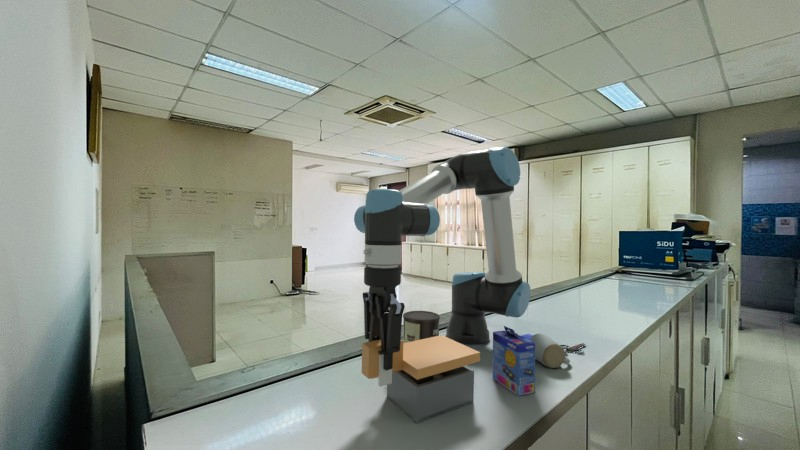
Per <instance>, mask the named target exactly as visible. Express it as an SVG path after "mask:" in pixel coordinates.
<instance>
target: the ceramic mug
mask: <svg viewBox="0 0 800 450" xmlns="http://www.w3.org/2000/svg"><path fill="white" fill-rule="evenodd" d="M532 335H533V336H532V337H531V338H530V340H532V341H534V342H535V361H537V362H539V363H540V364H542V365H543V366H545V367H547V368H549V369H556V368H559V367H561V366H562V365H563V364H564V365H567V366H569V365H570V362H571V360H570V358H568V357H567V356H565V354H566V353H565V352H564V351H565V350H564V349H563V348H564V347H563V346H560V345H561V344H559V342H556V341H555V340H554V339H552V338H550V337H549V336H548V335H547V334H545V333H536V334H532ZM562 347H563V348H562Z"/></svg>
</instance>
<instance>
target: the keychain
mask: <svg viewBox="0 0 800 450" xmlns="http://www.w3.org/2000/svg"><path fill="white" fill-rule="evenodd" d="M559 345H560V346H561V347H562V348H563V349H566V350H564V352H565V357H567V356H568V352H567V351H570V352H569V353H574V352H575V353H574V354H576V353H578V354H577V355H584V354H585V351H584V350H583V349H581V348H580V347H582V346H584V345H585V343H584V342H582V343H579V344H575V345H573V346H569V345H567V344H559ZM564 346H566V347H564ZM585 346H586V345H585ZM568 347H569V348H568ZM578 348H580V349H578ZM573 350H580V351H583V352H580V351H573ZM571 351H573V352H571ZM583 353H584V354H583Z"/></svg>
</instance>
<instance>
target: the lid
mask: <svg viewBox="0 0 800 450" xmlns="http://www.w3.org/2000/svg"><path fill="white" fill-rule="evenodd" d="M378 351H381V340H376V341H371V342H368V341H366V342H362V343H361V374H362V375H363V376H364V377H366V378H367V379H371V378H374V377H377V376H379V353H378ZM478 362H479V363H480V362H481V352H480V351H477V350H476V349H473V348H471V347H469V346H468V345H464V343H460V342H456V341H454V340H452V339H450V338H448V337H447V336H445V335H442V334H441V335H439V336H435V337H430V338H426V339H421V340H416V341H412V342H407V343H403V339H401V342H400V351H399V352H394V353H393V367H392V372H396V371H400V370H404V371H405V372H407V373H408V374H410V375H411V376H413V377H414V378H415V379H417V380H418V379H421V378H425V377H428V376H432V375H435V374H439V373H442V372H445V371H449V370H452V369H456V368H459V367H462V366H466V367H467V366H469V365H472V364H476V363H478ZM377 378H378V377H377ZM374 379H375V378H374Z"/></svg>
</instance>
